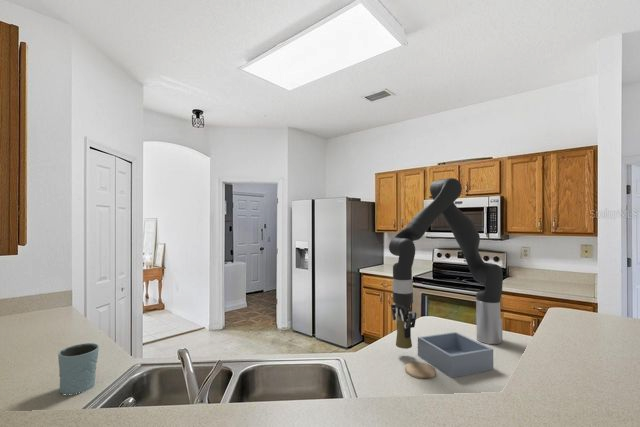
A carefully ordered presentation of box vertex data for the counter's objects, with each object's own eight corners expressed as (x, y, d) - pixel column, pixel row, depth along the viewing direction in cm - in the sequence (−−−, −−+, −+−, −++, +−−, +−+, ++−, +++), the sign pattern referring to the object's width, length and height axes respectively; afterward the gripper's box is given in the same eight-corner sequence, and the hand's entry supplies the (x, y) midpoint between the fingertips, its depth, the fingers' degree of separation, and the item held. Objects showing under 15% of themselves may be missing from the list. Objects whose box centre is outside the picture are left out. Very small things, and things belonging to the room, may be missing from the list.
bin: (455, 349, 127) (455, 331, 127) (493, 369, 110) (493, 349, 110) (417, 355, 122) (417, 337, 122) (451, 377, 105) (451, 356, 105)
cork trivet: (423, 363, 115) (423, 360, 115) (442, 375, 106) (442, 372, 106) (399, 367, 112) (399, 364, 112) (416, 380, 103) (416, 377, 103)
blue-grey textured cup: (68, 381, 102) (69, 344, 102) (104, 378, 105) (104, 341, 105) (49, 399, 92) (50, 357, 93) (89, 394, 95) (89, 354, 95)
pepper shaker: (412, 349, 117) (412, 319, 117) (395, 348, 119) (395, 318, 119) (411, 342, 123) (410, 314, 123) (395, 341, 124) (394, 313, 125)
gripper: (422, 293, 116) (423, 340, 115) (400, 285, 129) (401, 327, 129) (404, 295, 113) (405, 343, 113) (384, 287, 127) (385, 330, 127)
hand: (403, 335), depth 121 cm, fingers closed on pepper shaker, 4 cm apart
